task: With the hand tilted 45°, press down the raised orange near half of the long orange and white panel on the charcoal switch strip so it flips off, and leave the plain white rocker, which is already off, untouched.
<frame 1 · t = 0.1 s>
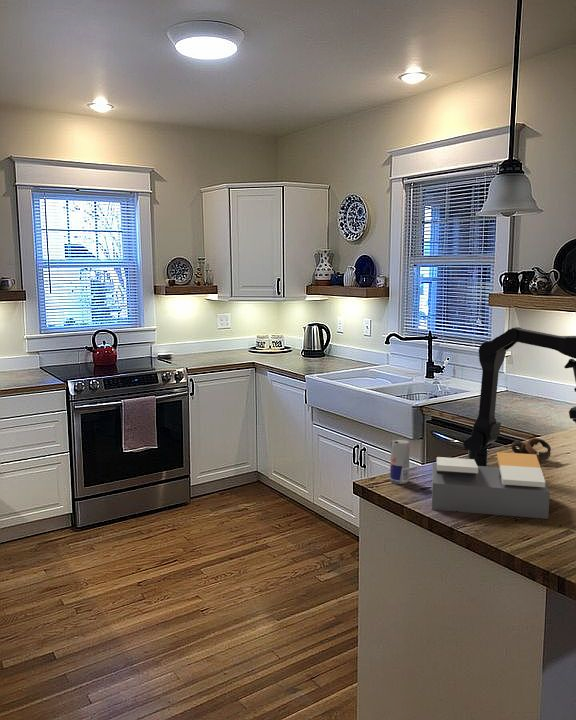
energy drink: (399, 482, 186), on the counter
brown chain link decor: (529, 460, 207), on the counter
orange and white panel: (519, 468, 166), point 10 cm above the counter, hinge at -9.0°
switch strip: (486, 501, 170), on the counter
rocker plain: (456, 464, 170), point 10 cm above the counter, hinge at 9.0°
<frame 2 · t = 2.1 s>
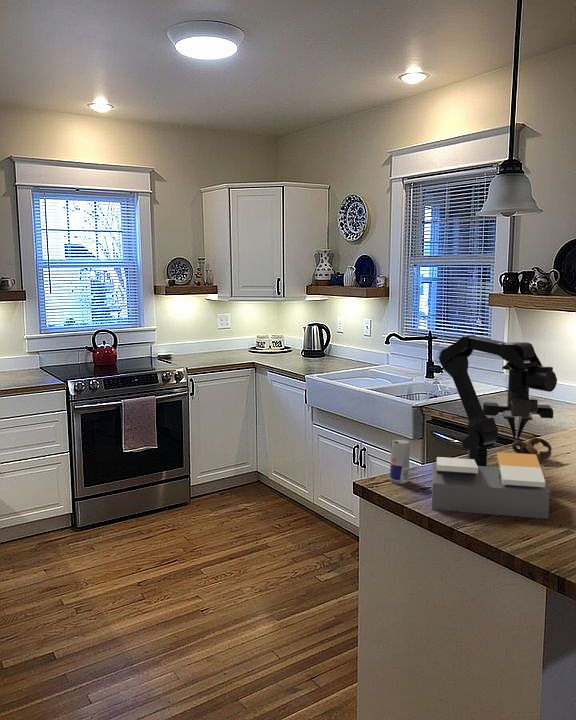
hand: (515, 439, 186), 12 cm above the counter, tool pointing down, fingers closed
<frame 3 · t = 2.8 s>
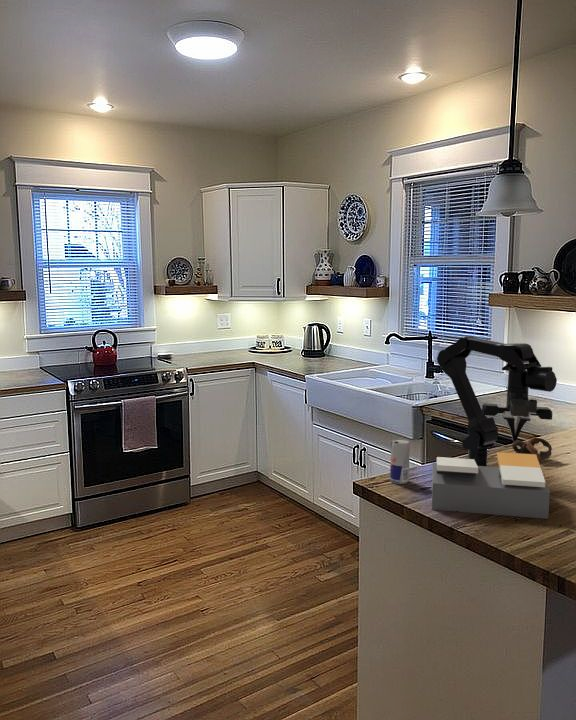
hand: (514, 440, 186), 12 cm above the counter, tool pointing down, fingers closed
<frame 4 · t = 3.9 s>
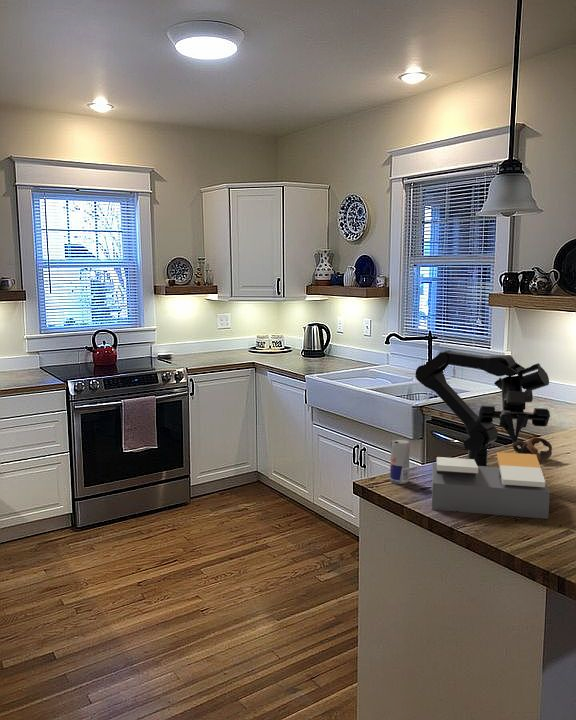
hand: (515, 441, 178), 13 cm above the counter, tool tilted 45°, fingers closed
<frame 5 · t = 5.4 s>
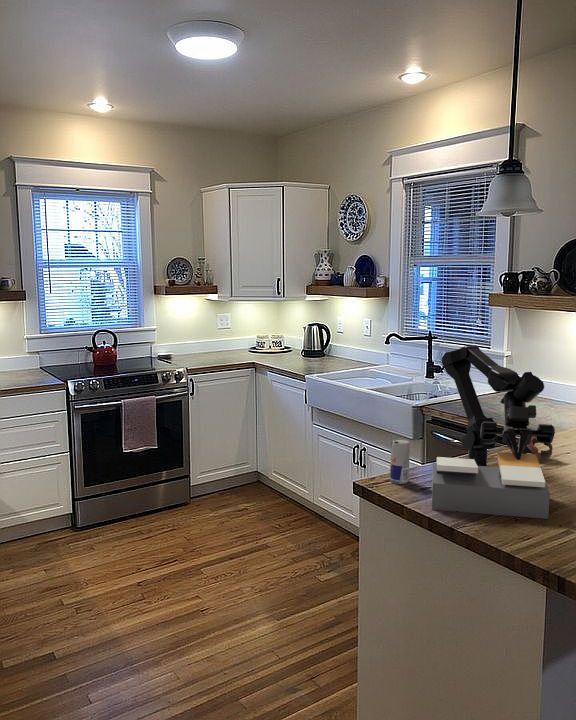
hand: (518, 459, 170), 11 cm above the counter, tool tilted 45°, fingers closed, pressing on orange and white panel
orange and white panel: (519, 468, 166), point 10 cm above the counter, hinge at -9.0°, touching gripper
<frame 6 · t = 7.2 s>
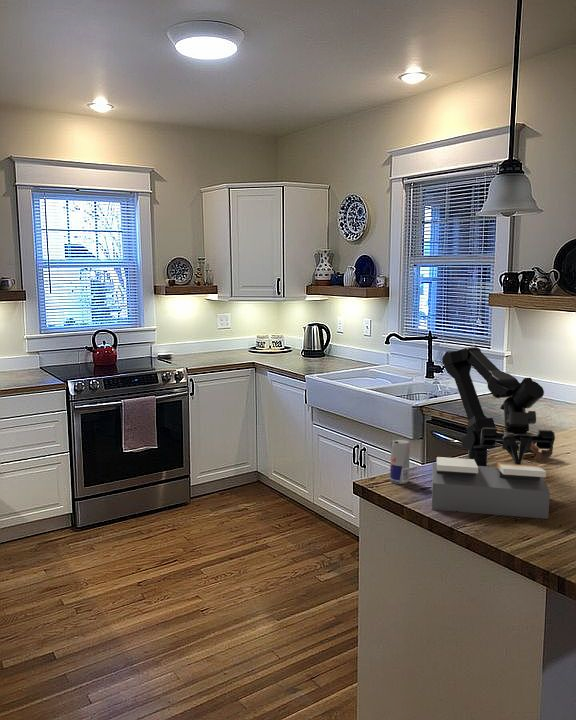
hand: (518, 465, 170), 9 cm above the counter, tool tilted 45°, fingers closed, pressing on orange and white panel
orange and white panel: (519, 468, 166), point 10 cm above the counter, hinge at 10.2°, touching gripper
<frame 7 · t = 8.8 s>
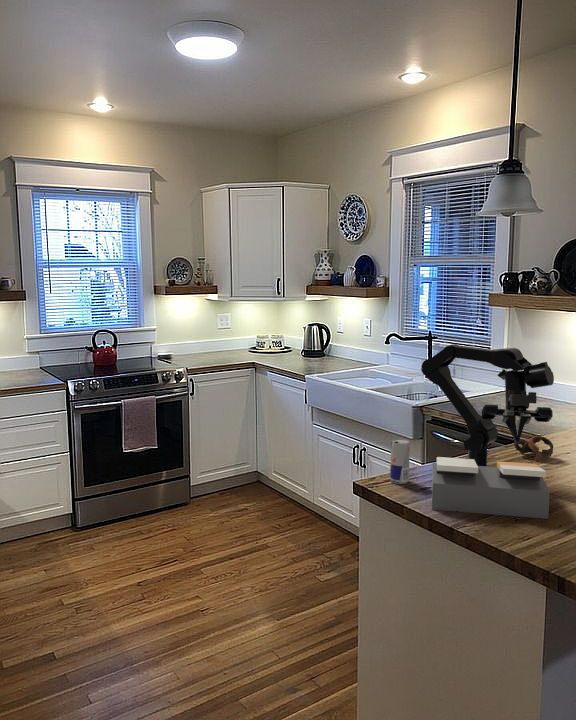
hand: (517, 442, 182), 12 cm above the counter, tool tilted 30°, fingers closed
orange and white panel: (519, 468, 166), point 10 cm above the counter, hinge at 10.2°
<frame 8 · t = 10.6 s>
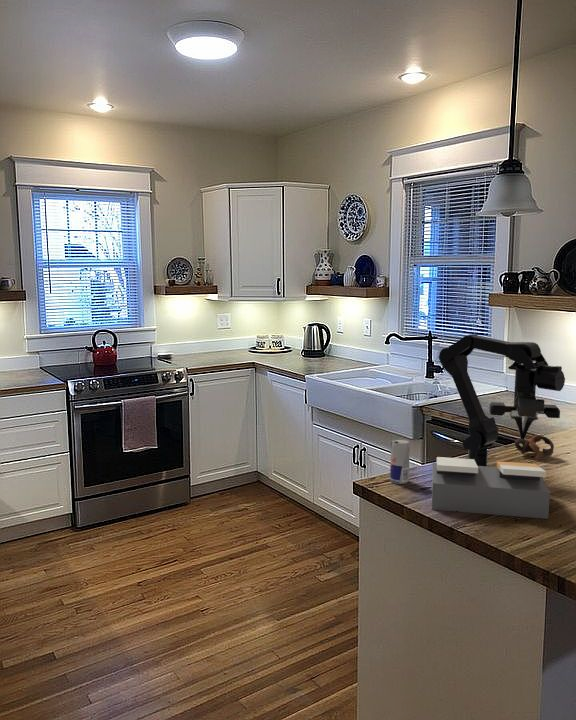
hand: (522, 438, 187), 12 cm above the counter, tool pointing down, fingers closed
at the end: orange and white panel at +10° (first picture: -9°); rocker plain at +9° (first picture: +9°) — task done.
